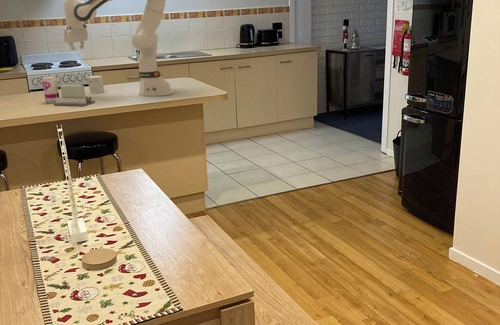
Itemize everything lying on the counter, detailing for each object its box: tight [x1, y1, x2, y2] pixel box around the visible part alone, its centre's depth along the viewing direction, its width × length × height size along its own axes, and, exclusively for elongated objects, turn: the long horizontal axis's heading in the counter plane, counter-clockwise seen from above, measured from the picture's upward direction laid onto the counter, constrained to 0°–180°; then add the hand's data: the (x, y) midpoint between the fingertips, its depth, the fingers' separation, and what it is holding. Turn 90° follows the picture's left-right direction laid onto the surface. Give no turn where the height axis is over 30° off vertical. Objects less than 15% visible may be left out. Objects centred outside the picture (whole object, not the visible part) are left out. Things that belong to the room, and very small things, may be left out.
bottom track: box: [53, 95, 96, 107], centre depth 318 cm, size 20×12×4 cm, turn 73°
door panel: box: [59, 84, 86, 98], centre depth 316 cm, size 14×3×10 cm, turn 73°
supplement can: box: [42, 76, 60, 104], centre depth 325 cm, size 8×8×15 cm
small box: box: [87, 75, 105, 94], centre depth 353 cm, size 8×6×10 cm
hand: (77, 49), depth 328 cm, fingers open, 8 cm apart
